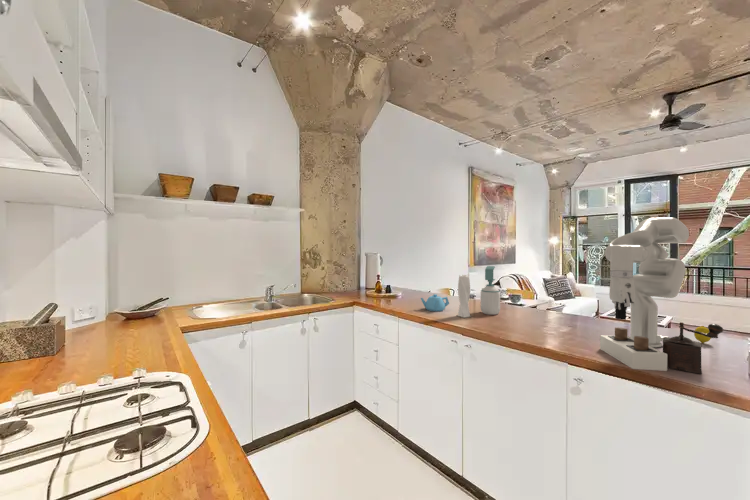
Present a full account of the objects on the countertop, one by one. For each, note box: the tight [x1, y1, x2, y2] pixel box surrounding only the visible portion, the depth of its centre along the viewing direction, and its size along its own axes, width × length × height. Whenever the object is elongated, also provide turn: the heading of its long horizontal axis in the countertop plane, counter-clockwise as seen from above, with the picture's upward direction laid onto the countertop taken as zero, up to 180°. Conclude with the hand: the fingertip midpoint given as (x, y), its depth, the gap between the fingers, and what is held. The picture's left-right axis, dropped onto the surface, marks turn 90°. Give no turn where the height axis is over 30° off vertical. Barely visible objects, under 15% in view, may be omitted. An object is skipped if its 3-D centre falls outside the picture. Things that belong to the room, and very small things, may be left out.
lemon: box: [693, 325, 712, 344], centre depth 148 cm, size 6×6×8 cm
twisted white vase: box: [455, 272, 473, 319], centre depth 203 cm, size 8×8×28 cm
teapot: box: [420, 293, 450, 312], centre depth 226 cm, size 15×15×11 cm
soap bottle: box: [480, 265, 501, 316], centre depth 213 cm, size 12×12×31 cm
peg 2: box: [634, 336, 649, 350], centre depth 121 cm, size 4×4×6 cm
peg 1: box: [614, 326, 628, 340], centre depth 134 cm, size 4×4×6 cm
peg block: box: [599, 334, 668, 372], centre depth 128 cm, size 11×23×6 cm, turn 170°
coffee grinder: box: [662, 321, 724, 375], centre depth 118 cm, size 16×11×18 cm
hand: (620, 318), depth 134 cm, fingers closed
